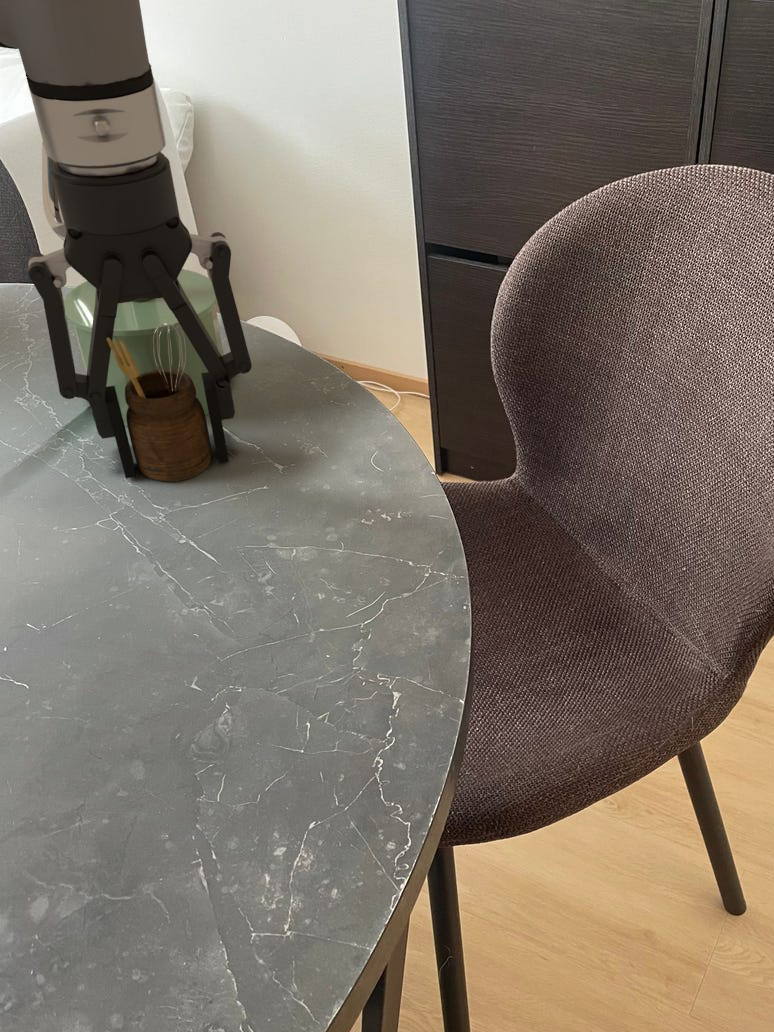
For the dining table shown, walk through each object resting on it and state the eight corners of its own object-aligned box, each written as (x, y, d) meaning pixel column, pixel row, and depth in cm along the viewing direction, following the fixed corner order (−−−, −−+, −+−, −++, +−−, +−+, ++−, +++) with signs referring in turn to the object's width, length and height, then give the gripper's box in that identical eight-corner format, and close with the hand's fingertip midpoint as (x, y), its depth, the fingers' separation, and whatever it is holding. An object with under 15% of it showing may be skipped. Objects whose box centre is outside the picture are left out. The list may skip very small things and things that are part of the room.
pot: (68, 415, 89) (41, 321, 83) (142, 357, 97) (121, 267, 91) (185, 438, 86) (165, 342, 81) (251, 376, 94) (237, 285, 89)
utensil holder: (228, 454, 84) (203, 313, 76) (179, 493, 80) (147, 348, 72) (170, 437, 86) (140, 298, 78) (119, 474, 82) (81, 331, 74)
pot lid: (34, 329, 83) (11, 254, 79) (121, 271, 92) (105, 200, 88) (169, 353, 81) (153, 276, 76) (246, 290, 89) (235, 218, 85)
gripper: (-55, 191, 63) (49, 508, 78) (267, 160, 67) (306, 465, 83) (-49, 154, 68) (47, 457, 84) (250, 127, 73) (288, 419, 88)
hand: (176, 460), depth 83 cm, fingers open, 7 cm apart
